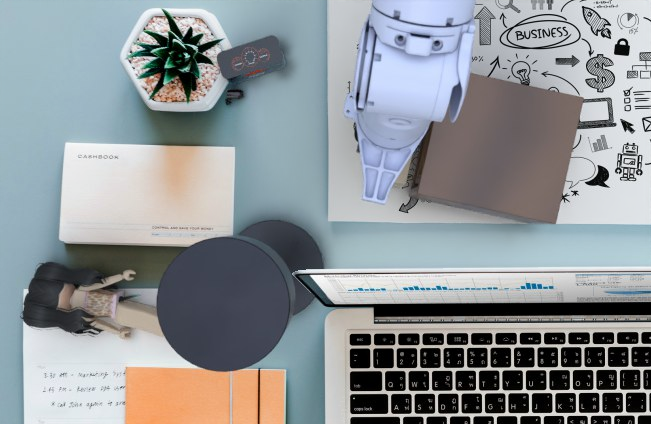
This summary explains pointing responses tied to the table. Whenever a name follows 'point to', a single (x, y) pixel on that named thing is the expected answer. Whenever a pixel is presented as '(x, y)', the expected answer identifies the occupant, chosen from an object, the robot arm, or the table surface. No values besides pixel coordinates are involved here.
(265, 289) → the desk lamp
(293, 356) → the table surface
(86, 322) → the toy figure
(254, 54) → the black dial device
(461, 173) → the cabinet
